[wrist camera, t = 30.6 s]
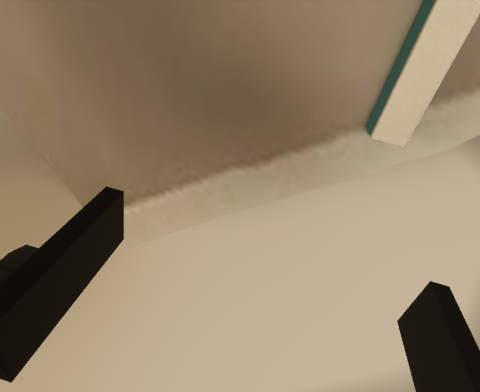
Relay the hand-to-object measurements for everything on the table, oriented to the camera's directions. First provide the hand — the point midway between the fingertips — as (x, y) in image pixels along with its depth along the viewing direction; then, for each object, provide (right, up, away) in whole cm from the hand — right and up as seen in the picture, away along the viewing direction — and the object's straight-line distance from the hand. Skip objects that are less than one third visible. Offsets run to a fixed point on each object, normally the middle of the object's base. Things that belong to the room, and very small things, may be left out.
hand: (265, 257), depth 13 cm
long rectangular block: (+21, +21, +24) cm, 38 cm away
